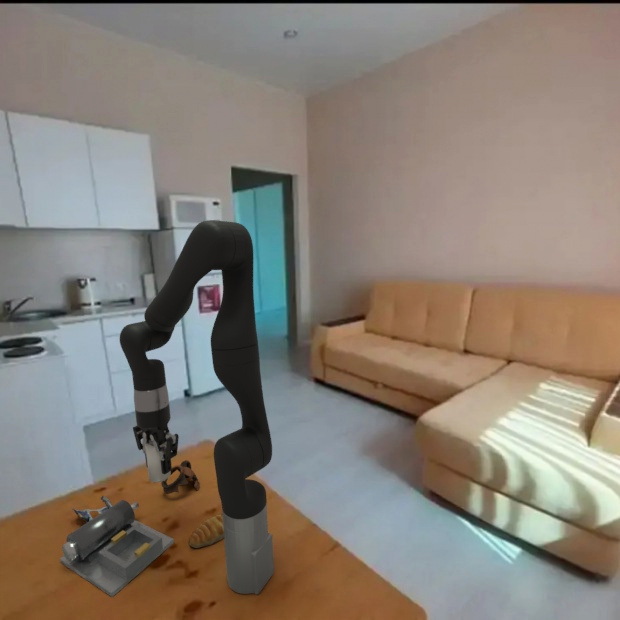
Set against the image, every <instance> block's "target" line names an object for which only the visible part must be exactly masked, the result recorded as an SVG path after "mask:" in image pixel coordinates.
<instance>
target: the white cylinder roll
mask: <svg viewBox="0 0 620 620" xmlns="http://www.w3.org/2000/svg"><path fill="white" fill-rule="evenodd" d="M164 445H166V443H163V444H162V445H160V447H163V446H164ZM145 448H146V457H147V465H146V467H147V466H148V468H147V473H148V480H149V482H151V483H153V484H154V483H162V481H165V480H166V479H168V480H169V478H170V477H171V475H172V474H171V471H170V472H168V473H167V474H162V469H161V458H160V455H159V452H156V450H155V447H154V444H153V442H152V441H151V440H149V443H147V444H145ZM163 452H164V454H166V449H164V450H163Z"/></svg>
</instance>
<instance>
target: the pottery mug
mask: <svg viewBox="0 0 620 620" xmlns="http://www.w3.org/2000/svg"><path fill="white" fill-rule="evenodd" d="M176 471H178V472H179V474H178V476H177V478H176V479H175V480H174V481H173V482H171V483H170V484H168V483H167V482H168V480H169V478H168V479H166V480H164V481H162V482H160V483H161V487H162V489H163V493H164V494H167V495H169V494H172V493H179V492H180V491H179V486H186V485H188V484H189V481H188V479H190V478H191V480H192V483H194V485H193V487H194V488H195V490H196V491H197V492H198V491H199V489H200V484H201V483H200V481H199V478H198V477H197V475H196V474H195V472H194V470H192V464H191V462H190V461H189V460H187V459H185V460H184V461H181V463H180V464H177V465H174V466H172V469H171V475H173V474H174V473H175V472H176Z"/></svg>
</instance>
